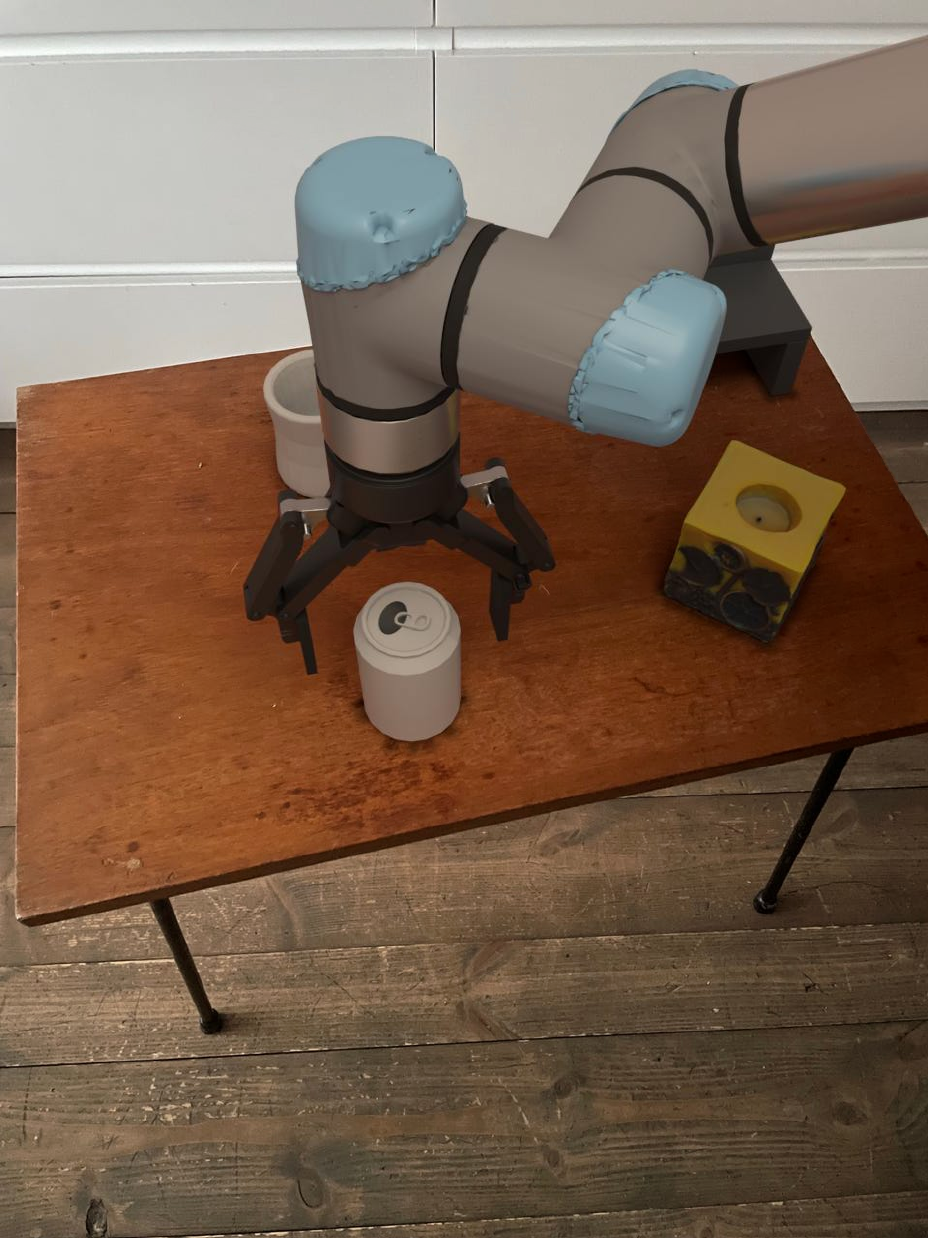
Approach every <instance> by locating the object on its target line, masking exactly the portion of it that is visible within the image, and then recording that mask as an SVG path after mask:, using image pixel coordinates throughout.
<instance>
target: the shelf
mask: <svg viewBox="0 0 928 1238" xmlns="http://www.w3.org/2000/svg"><path fill="white" fill-rule="evenodd" d="M775 247H776V244H774V245H768V246H762V247H757V248H754V249H750V250H746V251H740V252H734V253H728V254H723V255H718V256H716V257H714V258H713V260H712V262H711V264H710V266H709V268H708V270H707V272H706V274H705V276H704V278H703V281H705V282H708V283H710V284H713V285H715V286H717V287H718V288H719V289H720V290H721V291H722V292H723V293H724V296H725V298H726V304H727V310H726V316H725V321H724V325H723V329H722V333H721V336H720V340H719V344H718V347H717V351H716V354H715V355H719V354H725V353H731V352H738V351H745V352H746V353H747V355H748V357H749V358H750V360H751V362H752V364H753V366H754V368H755V369H756V372H757V373H758V375H759V377H760V379H761V381H762V383H763V384H764V386H765V388H766V390H767V391H768V394H769V395H770V396H771V397H775V396H779V395H780V396H782V395H786V394H791V391H792V389H793V386H794V383H795V380H796V378H797V374H798V371H799V368H800V366H801V362H802V360H803V357H804V354H805V351H806V348H807V345H808V342H809V339H810V336H811V333H812V330H813V326H812V324H811V322H810V321H809V319H808V317H807V316H806V314H805V313H804V311H803V309H802V307H801V306H800V305H799V303H798V301H797V300H796V297H795V296H794V295H793V293H792V291H791V289H790V287H788V284H787V283H786V281H785V279H784V278H783V276H782V275H781V273H780V271H779V270H778V268H777V266H776V265H775V263H774V261H773V259H772V258H773V255H774V251H775Z"/></svg>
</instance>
